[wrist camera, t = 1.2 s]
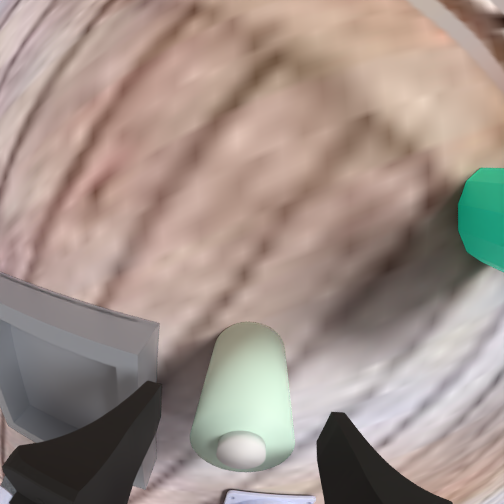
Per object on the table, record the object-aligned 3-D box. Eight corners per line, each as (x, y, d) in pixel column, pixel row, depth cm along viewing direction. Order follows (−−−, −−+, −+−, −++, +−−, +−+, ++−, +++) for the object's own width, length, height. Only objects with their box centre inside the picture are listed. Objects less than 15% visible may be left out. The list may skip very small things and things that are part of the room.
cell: (275, 384, 17) (280, 486, 10) (210, 373, 17) (184, 472, 10) (292, 328, 16) (310, 429, 9) (219, 315, 16) (190, 411, 9)
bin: (156, 458, 19) (145, 489, 16) (27, 404, 19) (8, 425, 16) (159, 323, 16) (137, 354, 13) (0, 271, 16) (-32, 286, 13)
